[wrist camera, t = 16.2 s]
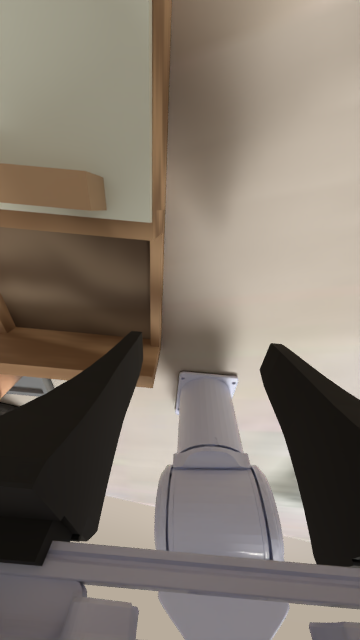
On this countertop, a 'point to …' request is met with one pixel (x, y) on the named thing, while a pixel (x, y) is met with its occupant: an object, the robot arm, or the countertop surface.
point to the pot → (7, 383)
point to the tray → (32, 386)
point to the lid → (76, 108)
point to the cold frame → (88, 267)
